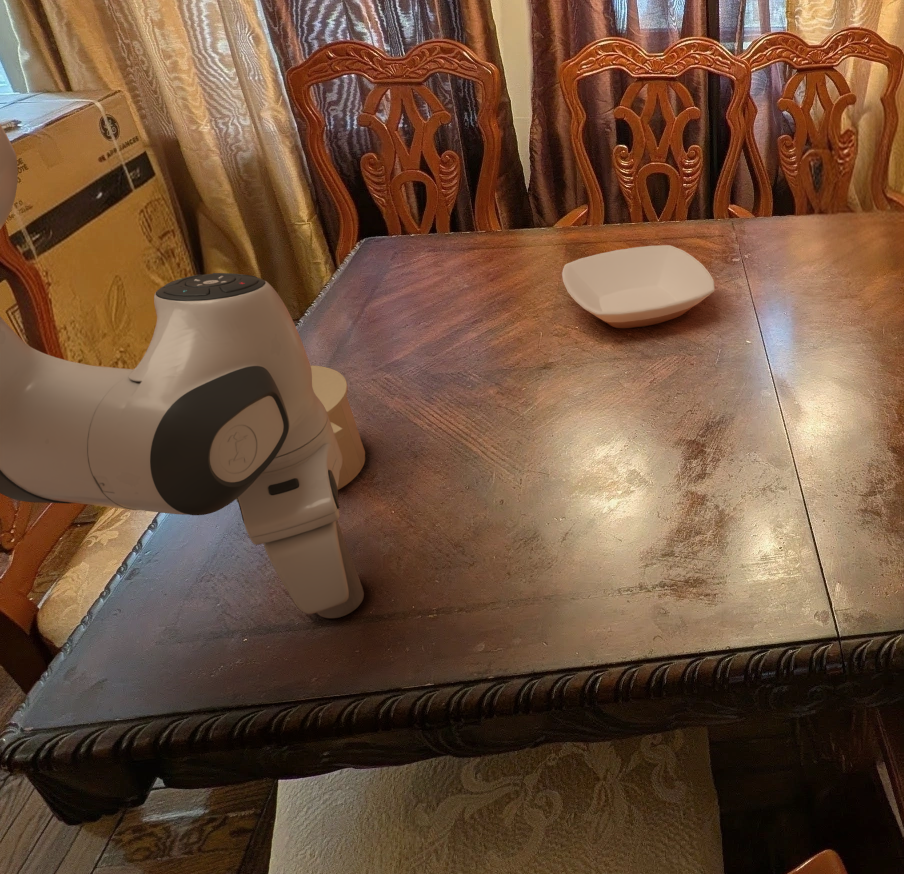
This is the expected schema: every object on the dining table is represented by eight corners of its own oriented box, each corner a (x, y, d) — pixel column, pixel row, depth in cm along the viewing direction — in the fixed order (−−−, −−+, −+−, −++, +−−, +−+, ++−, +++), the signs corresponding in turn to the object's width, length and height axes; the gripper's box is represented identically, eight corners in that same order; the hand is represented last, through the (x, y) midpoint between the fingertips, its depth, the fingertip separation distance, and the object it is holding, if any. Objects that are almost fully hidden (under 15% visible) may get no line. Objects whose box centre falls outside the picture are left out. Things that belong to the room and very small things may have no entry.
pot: (305, 528, 85) (276, 458, 80) (220, 467, 94) (188, 400, 88) (401, 469, 93) (381, 401, 87) (314, 418, 102) (290, 353, 96)
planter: (374, 590, 78) (345, 511, 72) (342, 624, 74) (308, 544, 68) (337, 578, 79) (306, 499, 73) (304, 611, 76) (268, 531, 70)
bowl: (731, 324, 119) (731, 292, 116) (591, 355, 113) (587, 321, 110) (678, 268, 135) (677, 238, 132) (553, 292, 129) (549, 261, 126)
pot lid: (261, 457, 81) (247, 424, 78) (196, 413, 87) (181, 382, 85) (374, 397, 89) (364, 365, 87) (306, 361, 96) (295, 331, 93)
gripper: (235, 405, 73) (283, 518, 81) (247, 545, 58) (305, 666, 66) (308, 387, 75) (348, 499, 83) (338, 517, 60) (383, 638, 68)
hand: (329, 574), depth 75 cm, fingers closed on planter, 4 cm apart
